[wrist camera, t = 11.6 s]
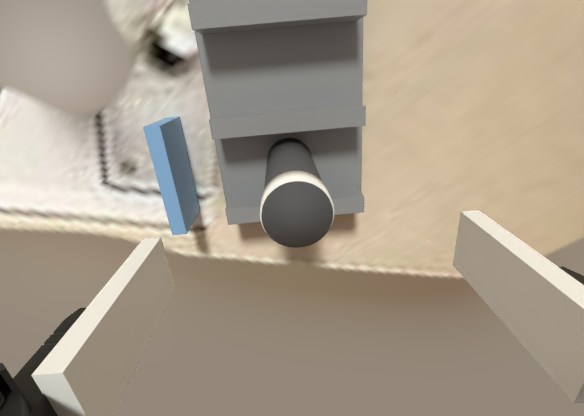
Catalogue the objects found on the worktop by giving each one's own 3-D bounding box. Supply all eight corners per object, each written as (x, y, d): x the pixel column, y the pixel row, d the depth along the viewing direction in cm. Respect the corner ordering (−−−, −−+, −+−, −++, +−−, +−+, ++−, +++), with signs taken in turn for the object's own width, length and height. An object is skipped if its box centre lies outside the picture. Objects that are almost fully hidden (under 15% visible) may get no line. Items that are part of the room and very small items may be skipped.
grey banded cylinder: (311, 134, 27) (334, 177, 16) (313, 179, 29) (335, 245, 18) (263, 138, 27) (255, 184, 16) (268, 183, 29) (264, 252, 18)
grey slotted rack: (361, -140, 21) (378, -184, 17) (358, 199, 31) (369, 216, 28) (169, -124, 21) (147, -165, 17) (229, 211, 31) (223, 230, 27)
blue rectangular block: (179, 116, 27) (159, 125, 23) (199, 209, 31) (186, 233, 26) (165, 117, 27) (143, 127, 23) (187, 210, 31) (172, 235, 26)
